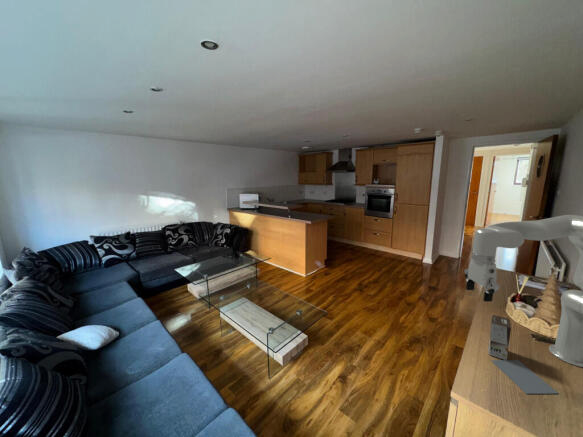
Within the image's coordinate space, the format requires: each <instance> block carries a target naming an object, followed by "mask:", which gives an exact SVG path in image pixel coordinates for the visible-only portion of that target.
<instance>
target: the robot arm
mask: <svg viewBox="0 0 583 437" xmlns="http://www.w3.org/2000/svg"><path fill="white" fill-rule="evenodd" d="M565 237H568V240H569V241H570V242H571V244H573V246H575V247H576V249H577V251H578V253H579V259H578V263H577V265H576V268H575V272H574V275H573V280H572V282H573V284H574V285H575V286H576V287H578V288H580V289H582V290H583V215H577V214H564V215H559V216H554V217H549V218H548V217H547V218H544V219H537V220H521V221H520V220H519V221H506V222H505V221H504V222H499V223H495V224H490V225H487V226H486V227H485V228H480V227H479V228H477V229H476V230H475V232H474V235H473V245H472V254H471V258H470V262H469V265H468V268H466V269H464V271H463V272H464V277H465V281H466V285H465V290H466V291H475V284H478V285H480V286H482V287H483V289H484V292H483V302H492V301H493V296H494V294H495V293H497V292H498V291H499V289H501V288H500V285H499V284H498V283H497V279H498V278H497V276H498V269H497V264H496V256H497V248H505V249H517V248H519V247H522V245H523V244H524V242H525V240H528V241H529V240H530V241H538V242H540V241H541V242H542V241H544V242H545V241H549V240H554V239H559V238H560V239H561V238H565ZM582 290H578V289H569V290H566V291H564V292H562V294H561V296H560V304H561V305H560V307H561V315H560V319H559V325H558V328H557V332H556V338H555V344H550V345H549V347H548V349H549V352H550V353H551V354H552V355H553V357H555V358H557V359H560V360H561V361H563V362H565V363H567V364H570V365H573V366H576V367H579V368H583V291H582Z"/></svg>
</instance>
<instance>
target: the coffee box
mask: <svg viewBox="0 0 583 437" xmlns="http://www.w3.org/2000/svg"><path fill="white" fill-rule="evenodd" d="M511 329H512V326H511V319H509V318H507V317H505V316H500V315H495V314H491V321H490V330H489V340H488V355H490V356H492V357H495V358H498V359H500V360H508V356H509V355H508V354H509V346H510V338H511V332H512V330H511Z"/></svg>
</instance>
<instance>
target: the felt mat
mask: <svg viewBox="0 0 583 437" xmlns="http://www.w3.org/2000/svg"><path fill="white" fill-rule="evenodd" d="M490 361H491V362H492V363H493V364H494V365H495V366H496V367H497V368H498V369H499V370H500V371H501V372H503V374H504V375H505V376H507V377H508V378H509V380H511V381H512V382H513V383H514V384H515V385H516V386H518V388H519V389H521V390H522V391H523V392H524V393H525V394H526V395H558V394H559V392H558V391H557V390H556V389H554V388H553V387H552V386H550V385H549V384H548V383H547V382H546V381H544V379H542V378H541V377H539V376H538V375H537V374H536V373H535V372H533V371H532V370H531V369H530V368H528V366H527V365H525V364H524V363H522V362H521V361H520V359H507V360H503V359H497V360H496V359H495V360H493V359H491V360H490Z"/></svg>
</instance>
